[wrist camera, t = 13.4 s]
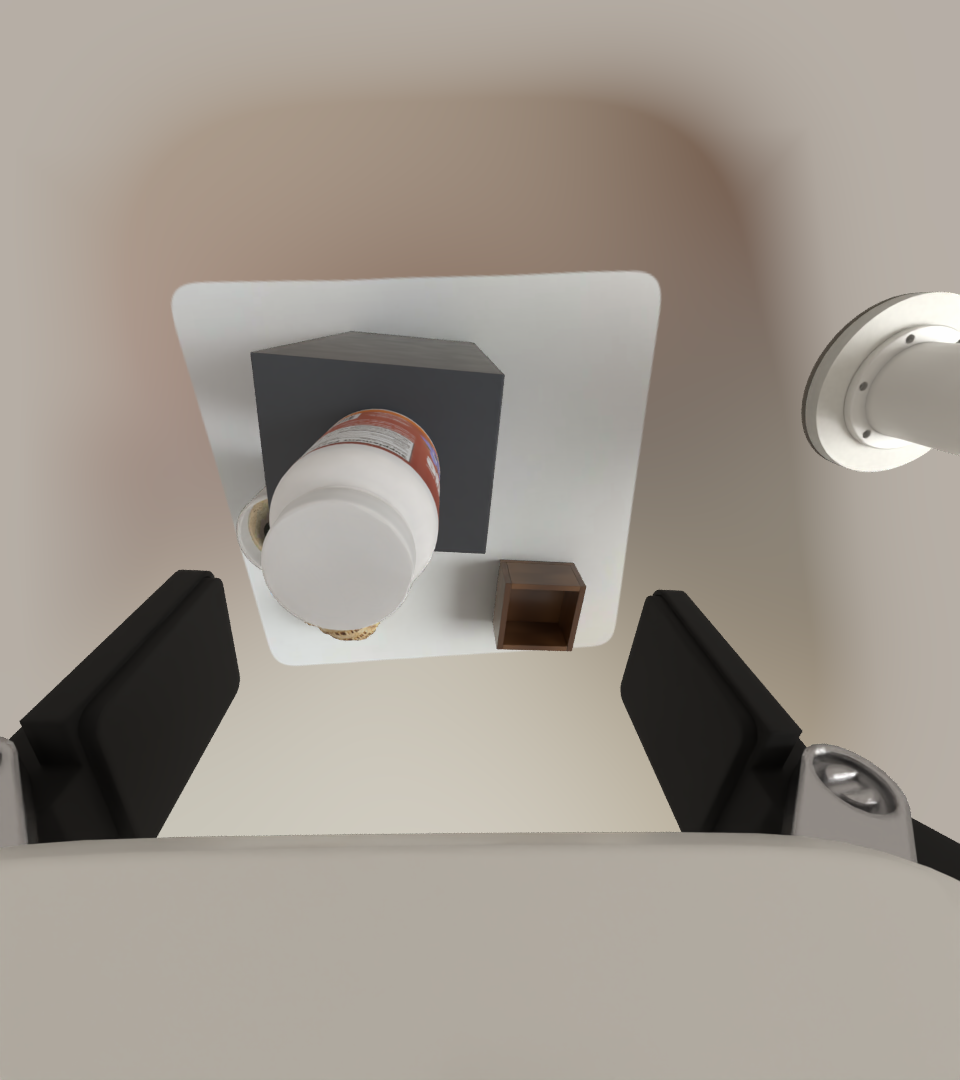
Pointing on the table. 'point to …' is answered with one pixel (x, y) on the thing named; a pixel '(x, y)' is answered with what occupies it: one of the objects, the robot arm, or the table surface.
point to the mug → (254, 527)
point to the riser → (397, 385)
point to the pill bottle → (354, 522)
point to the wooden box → (537, 605)
